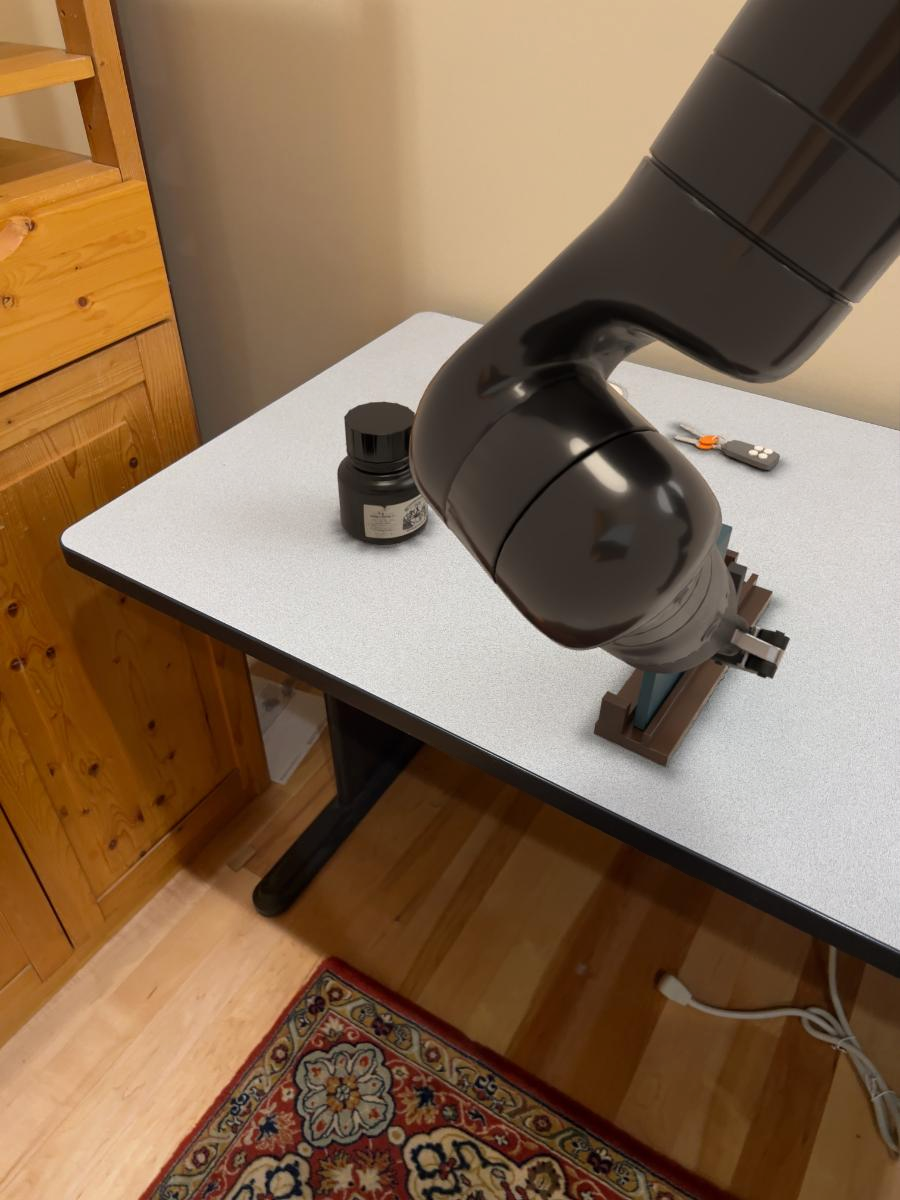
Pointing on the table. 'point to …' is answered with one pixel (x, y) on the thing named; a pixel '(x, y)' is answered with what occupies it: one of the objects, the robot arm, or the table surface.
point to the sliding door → (661, 685)
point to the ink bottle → (379, 476)
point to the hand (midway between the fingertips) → (696, 639)
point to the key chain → (735, 449)
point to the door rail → (673, 693)
